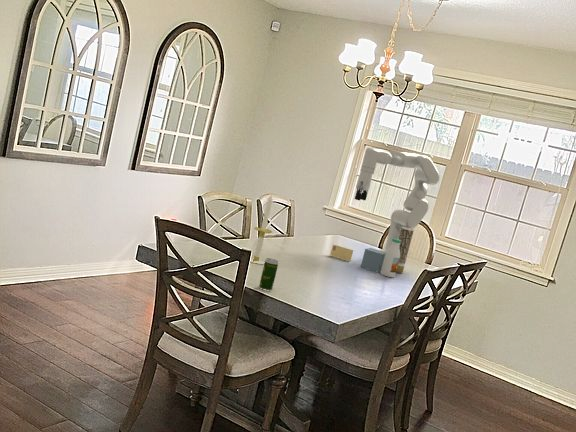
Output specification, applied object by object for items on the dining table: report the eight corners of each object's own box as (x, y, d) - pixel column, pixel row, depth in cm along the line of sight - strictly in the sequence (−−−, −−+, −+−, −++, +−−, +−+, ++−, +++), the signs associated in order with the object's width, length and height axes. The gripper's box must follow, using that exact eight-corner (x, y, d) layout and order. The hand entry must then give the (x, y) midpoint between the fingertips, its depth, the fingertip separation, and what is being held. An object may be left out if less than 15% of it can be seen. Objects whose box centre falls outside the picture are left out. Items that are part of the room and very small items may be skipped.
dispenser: (366, 265, 372) (370, 247, 371) (383, 270, 368) (387, 253, 367) (360, 266, 364) (365, 248, 362) (377, 272, 360) (382, 254, 358)
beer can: (271, 288, 270) (278, 259, 268) (272, 292, 264) (279, 262, 263) (258, 285, 269) (265, 257, 267) (259, 289, 264) (265, 260, 262)
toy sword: (242, 260, 310) (258, 191, 305) (248, 257, 319) (264, 190, 315) (262, 266, 307) (279, 196, 303) (268, 262, 317) (284, 195, 313)
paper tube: (402, 274, 371) (413, 230, 368) (390, 271, 372) (401, 227, 369) (402, 272, 377) (414, 229, 374) (390, 269, 379) (402, 226, 375)
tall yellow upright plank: (330, 255, 376) (333, 244, 376) (350, 261, 372) (353, 250, 371) (330, 255, 375) (332, 244, 375) (349, 261, 371) (352, 250, 370)
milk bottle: (383, 276, 352) (393, 239, 350) (378, 272, 360) (387, 236, 357) (396, 278, 354) (406, 242, 352) (391, 274, 362) (400, 238, 359)
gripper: (366, 169, 388) (359, 198, 390) (356, 168, 372) (348, 198, 374) (378, 172, 385) (371, 201, 387) (369, 171, 369) (361, 201, 371)
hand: (360, 199), depth 381 cm, fingers open, 9 cm apart
